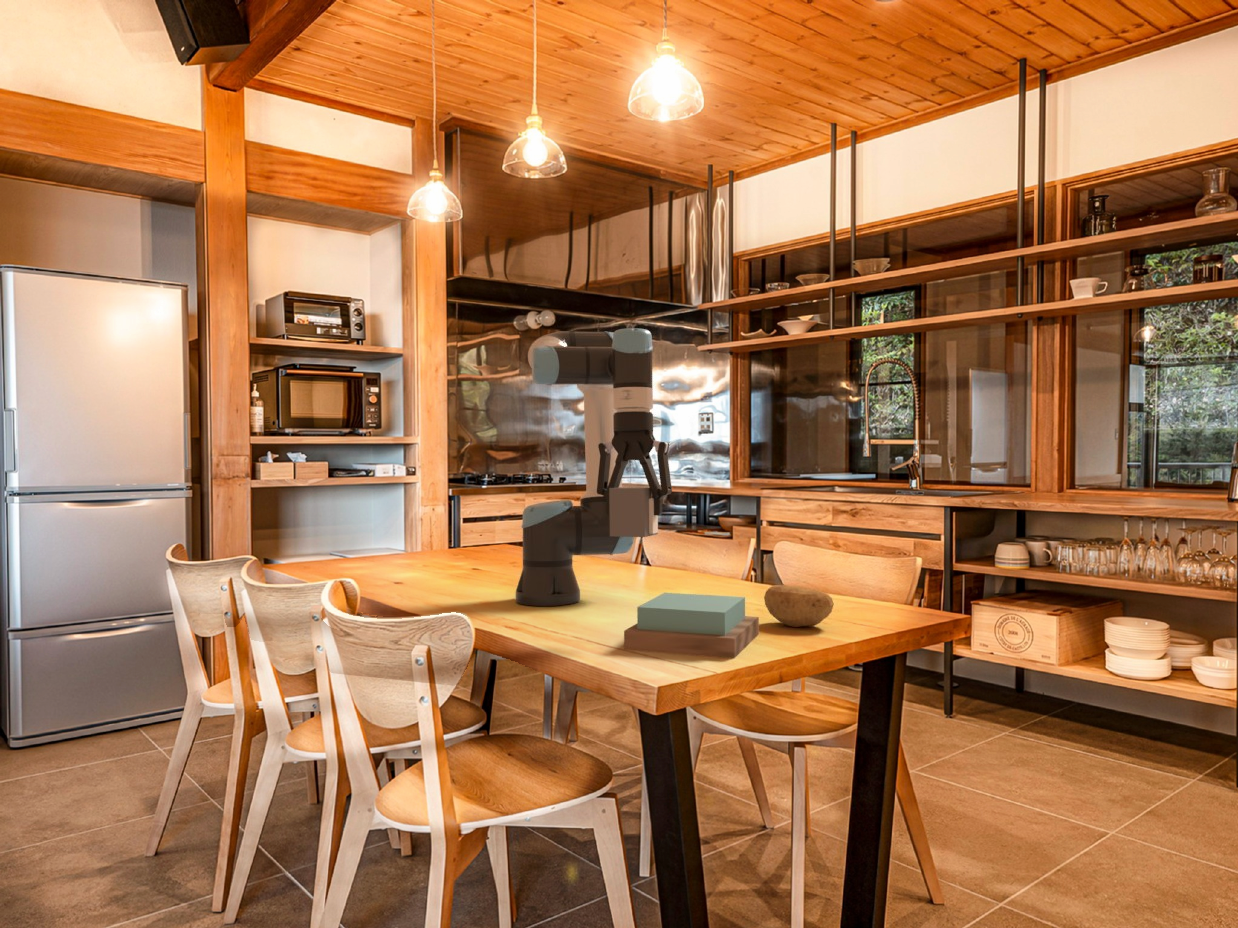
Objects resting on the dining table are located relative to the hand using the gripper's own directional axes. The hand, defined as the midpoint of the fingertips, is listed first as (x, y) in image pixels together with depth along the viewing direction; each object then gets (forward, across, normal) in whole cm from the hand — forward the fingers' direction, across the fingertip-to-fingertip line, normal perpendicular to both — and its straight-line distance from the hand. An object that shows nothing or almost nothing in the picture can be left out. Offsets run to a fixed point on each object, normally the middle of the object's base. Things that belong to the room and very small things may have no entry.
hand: (634, 532), depth 165 cm
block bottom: (+21, +12, 0) cm, 24 cm away
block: (+1, 0, 0) cm, 1 cm away
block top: (+17, +11, 0) cm, 20 cm away
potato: (+20, +27, +21) cm, 39 cm away
